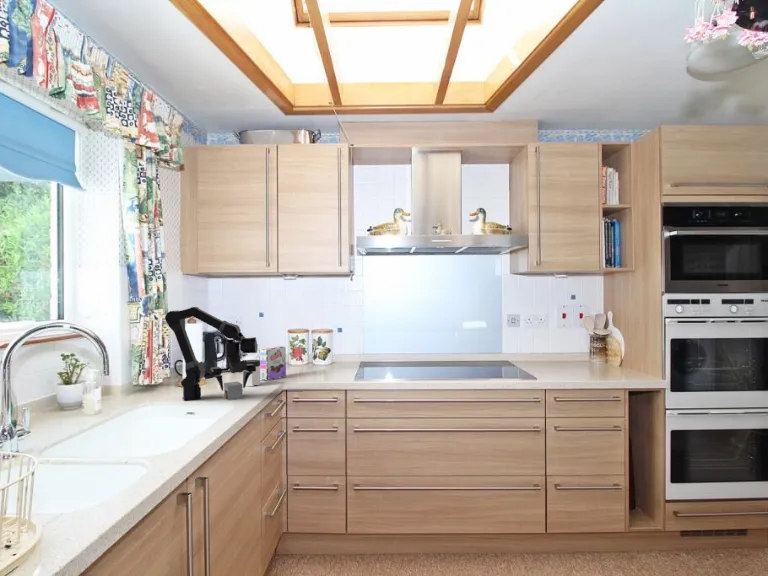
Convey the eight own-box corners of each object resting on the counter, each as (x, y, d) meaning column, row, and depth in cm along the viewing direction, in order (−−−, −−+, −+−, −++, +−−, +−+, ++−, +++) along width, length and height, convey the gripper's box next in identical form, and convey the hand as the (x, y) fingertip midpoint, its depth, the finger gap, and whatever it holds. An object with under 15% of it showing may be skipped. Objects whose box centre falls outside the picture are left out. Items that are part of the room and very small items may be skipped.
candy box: (267, 381, 235) (266, 349, 235) (259, 380, 238) (258, 348, 238) (286, 376, 246) (285, 346, 246) (278, 375, 249) (278, 345, 249)
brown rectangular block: (225, 398, 196) (225, 393, 196) (224, 397, 198) (224, 392, 198) (242, 396, 200) (242, 391, 200) (241, 395, 202) (240, 390, 202)
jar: (264, 383, 228) (264, 359, 228) (256, 386, 220) (256, 362, 220) (248, 383, 230) (247, 359, 230) (239, 386, 222) (239, 361, 222)
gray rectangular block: (228, 400, 194) (228, 386, 194) (224, 396, 201) (224, 383, 201) (242, 398, 197) (242, 384, 197) (238, 394, 204) (237, 381, 204)
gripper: (214, 357, 188) (214, 395, 187) (259, 353, 197) (259, 389, 197) (208, 354, 197) (209, 390, 197) (252, 351, 207) (252, 385, 207)
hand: (233, 389), depth 199 cm, fingers open, 9 cm apart
